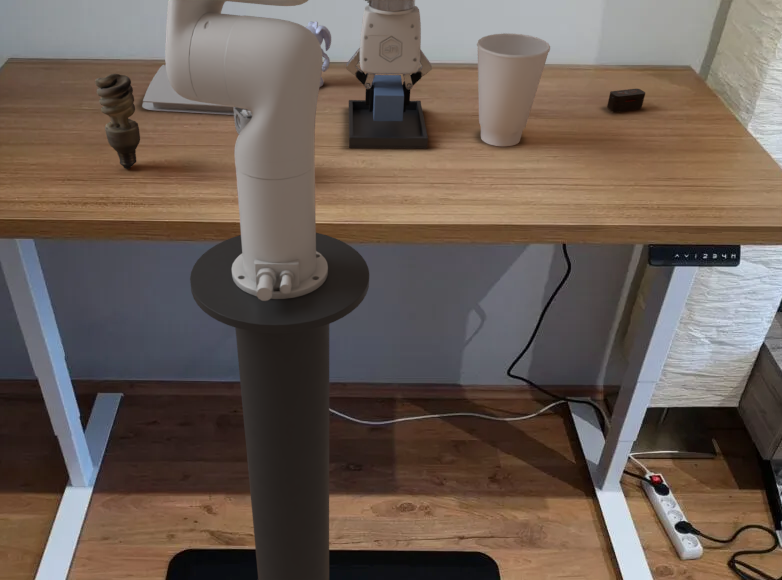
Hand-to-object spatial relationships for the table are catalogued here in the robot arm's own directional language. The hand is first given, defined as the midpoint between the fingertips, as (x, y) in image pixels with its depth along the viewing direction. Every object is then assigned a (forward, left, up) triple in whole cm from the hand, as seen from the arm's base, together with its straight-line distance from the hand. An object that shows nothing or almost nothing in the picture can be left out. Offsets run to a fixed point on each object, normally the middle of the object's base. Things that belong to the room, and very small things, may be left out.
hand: (387, 108), depth 142 cm
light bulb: (-17, +43, -4) cm, 46 cm away
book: (+14, +34, -4) cm, 37 cm away
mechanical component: (-20, +22, -4) cm, 30 cm away
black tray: (0, 0, -4) cm, 4 cm away
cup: (-4, -20, -4) cm, 21 cm away
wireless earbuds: (+11, -46, -4) cm, 47 cm away
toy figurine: (+22, +14, -4) cm, 26 cm away
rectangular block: (0, 0, 0) cm, 0 cm away
